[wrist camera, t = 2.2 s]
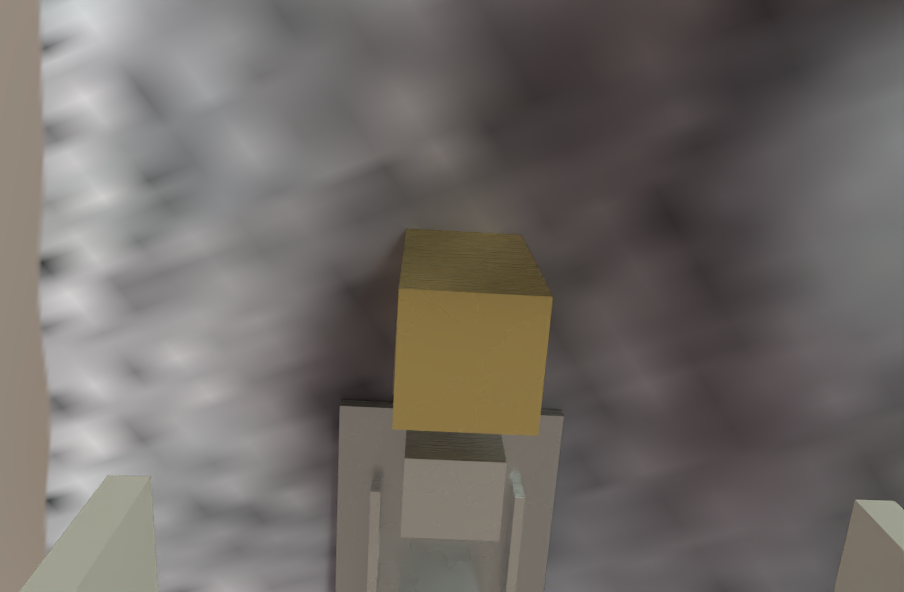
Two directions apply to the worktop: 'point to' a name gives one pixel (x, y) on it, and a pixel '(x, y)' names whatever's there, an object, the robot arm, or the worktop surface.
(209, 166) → the worktop surface
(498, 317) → the block
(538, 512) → the rail
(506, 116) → the worktop surface
